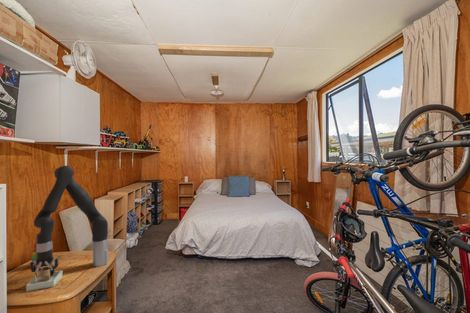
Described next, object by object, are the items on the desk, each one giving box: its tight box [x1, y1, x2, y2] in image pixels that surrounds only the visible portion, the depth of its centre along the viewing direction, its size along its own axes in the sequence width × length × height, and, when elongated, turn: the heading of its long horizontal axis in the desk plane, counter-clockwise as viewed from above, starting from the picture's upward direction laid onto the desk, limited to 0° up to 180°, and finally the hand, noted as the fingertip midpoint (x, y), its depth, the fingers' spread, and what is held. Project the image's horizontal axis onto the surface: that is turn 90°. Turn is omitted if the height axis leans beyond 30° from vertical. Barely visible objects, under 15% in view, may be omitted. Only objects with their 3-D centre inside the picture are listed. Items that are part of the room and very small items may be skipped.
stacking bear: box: [31, 240, 54, 269], centre depth 160 cm, size 11×10×18 cm
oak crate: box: [37, 266, 52, 282], centre depth 136 cm, size 6×6×6 cm
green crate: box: [25, 269, 64, 293], centre depth 136 cm, size 13×13×4 cm
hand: (45, 276), depth 136 cm, fingers closed on oak crate, 6 cm apart
